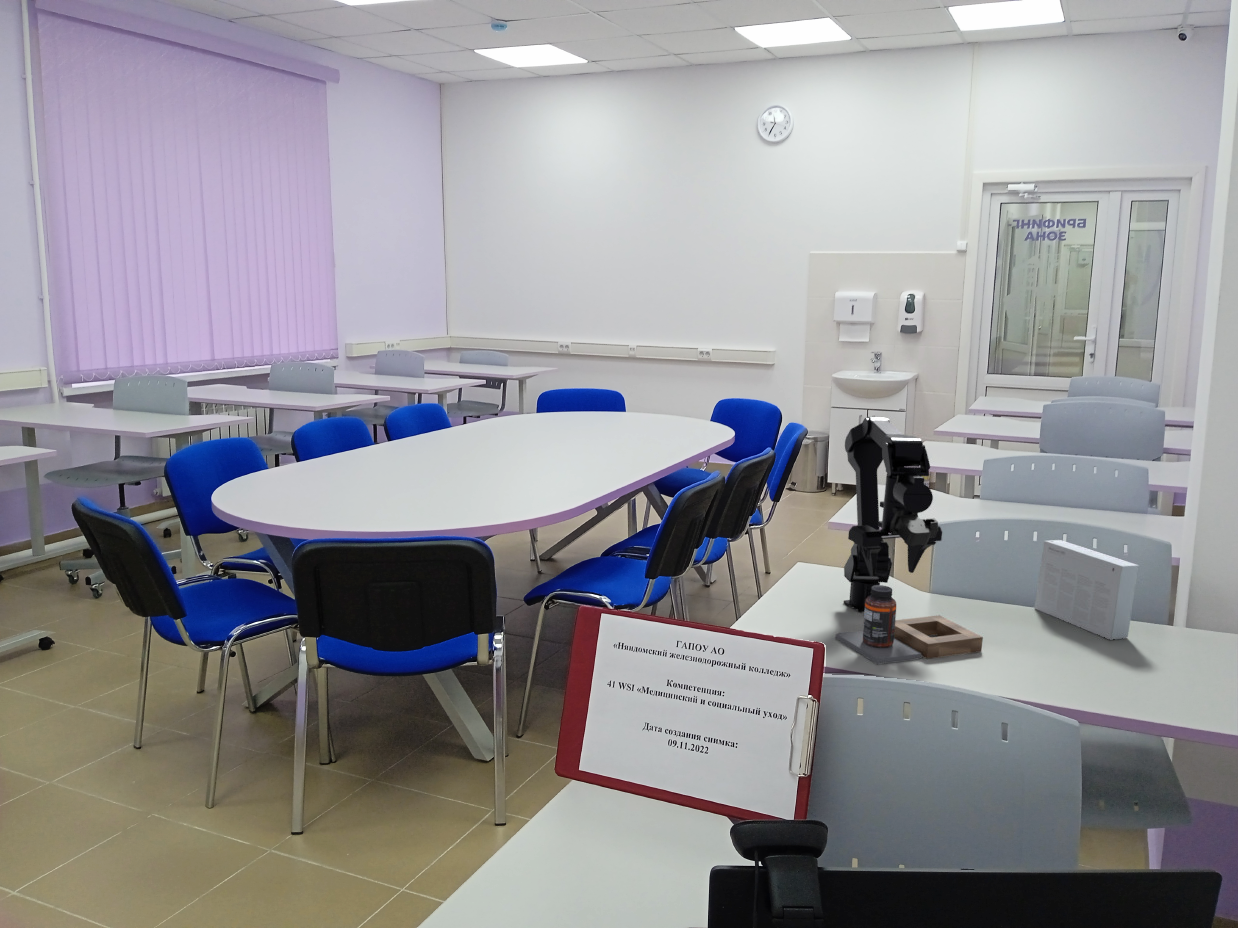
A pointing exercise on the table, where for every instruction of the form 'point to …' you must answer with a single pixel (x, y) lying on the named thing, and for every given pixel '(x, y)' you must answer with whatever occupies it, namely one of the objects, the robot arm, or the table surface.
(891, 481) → the robot arm
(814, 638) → the table surface
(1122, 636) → the skincare box
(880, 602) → the supplement bottle
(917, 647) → the collar block
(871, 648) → the rubber mat
